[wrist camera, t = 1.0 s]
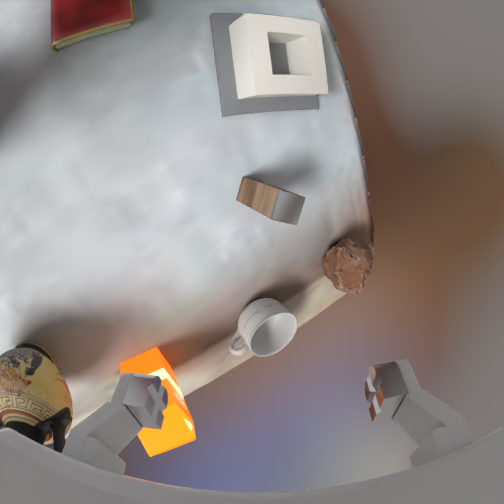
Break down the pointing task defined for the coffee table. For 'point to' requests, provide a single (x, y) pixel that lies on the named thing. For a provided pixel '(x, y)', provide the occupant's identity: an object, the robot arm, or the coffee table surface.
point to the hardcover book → (87, 19)
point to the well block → (267, 63)
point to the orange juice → (176, 414)
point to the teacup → (264, 328)
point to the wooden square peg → (271, 200)
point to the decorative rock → (348, 265)
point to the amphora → (34, 395)
